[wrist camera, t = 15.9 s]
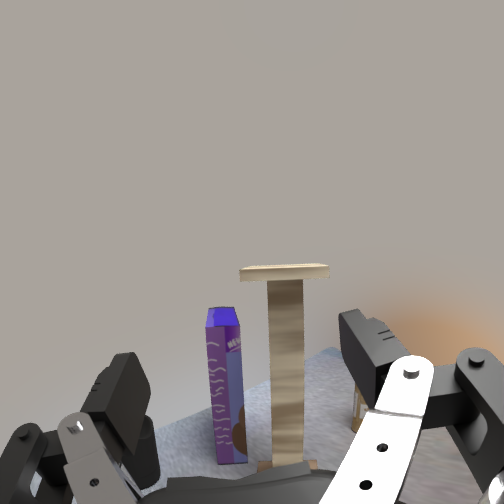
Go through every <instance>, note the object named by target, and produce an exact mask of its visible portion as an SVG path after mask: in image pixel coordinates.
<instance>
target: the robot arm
mask: <svg viewBox="0 0 504 504" xmlns="http://www.w3.org/2000/svg"><path fill="white" fill-rule="evenodd" d="M339 331H340V344H341V352H342V356H343V359H344V362H345V364H346V366H347V368H348V370H349V371H350V373H351V375H352V377H353V379H354V381H355V383H356V385H357V387H358V389H359V391H360V393H361V395H362V397H363V399H364V400H365V402H366V404H367V406H368V408H369V411H368V412H367V414H366V416H365V418H364V421H363V423H362V425H361V427H360V429H359V431H358V433H357V435H356V438H355V440H354V442H353V444H352V446H351V448H350V450H349V451H348V453H347V455H346V457H345V459H344V461H343V463H342V465H341V467H340V469H339V470H338V472H335V471H329V470H320V469H310V466H309V462H308V460H307V461H303V462H298V463H293V464H288V465H283V466H278V467H272V468H270V469H267V470H264V471H262V472H259V473H256V474H253V475H250V476H247V477H244V478H241V479H238V480H227V479H218V478H210V477H202V476H197V477H176V478H168V480H167V487H166V488H162V489H159V490H156V491H154V492H151V493H149V494H148V495H146V496H144V495H143V494H142V492H141V491H140V489H139V488H138V486H137V485H136V483H135V482H134V480H133V479H132V477H131V476H130V474H129V473H128V471H127V469H126V468H125V466H124V465H123V463H122V462H121V459H122V456H134V454H135V450H136V447H137V443H138V439H139V435H140V432H141V428H142V424H143V421H144V417H145V413H146V409H147V406H148V403H149V399H150V395H151V391H150V385H149V382H148V380H147V378H146V375H145V373H144V371H143V369H142V367H141V364H140V362H139V360H138V358H137V356H136V354H135V353H134V352H129V353H122V354H116V355H115V356H114V358H113V360H112V362H111V364H110V366H109V367H106V368H105V369H104V370H103V371H102V372H101V373H100V374H99V375H98V377H97V379H96V381H95V383H94V385H93V387H92V389H91V392H89V395H88V397H87V398H86V400H85V402H84V404H83V406H82V408H81V410H80V412H77V413H73V414H70V415H68V416H67V417H65V418H64V419H63V420H62V421H61V422H60V423H59V426H58V429H57V430H54V431H49V432H45V433H43V432H42V430H41V429H40V428H39V426H38V425H37V424H34V423H27V424H24V425H22V426H20V427H19V428H17V430H15V431H14V433H13V435H12V436H11V438H10V440H9V442H8V444H7V446H6V447H5V449H4V451H3V453H2V455H1V457H0V504H71V503H72V499H73V496H74V497H75V499H76V501H77V504H406V503H403V502H401V501H399V498H400V495H401V493H402V490H403V487H404V485H405V482H406V479H407V476H408V473H409V470H410V467H411V464H412V461H413V458H414V455H415V451H416V448H417V445H418V441H419V438H420V434H421V431H422V430H423V429H431V428H438V427H444V426H445V427H446V429H447V430H448V432H449V434H450V435H451V437H452V439H453V441H454V442H455V444H456V446H457V447H458V449H459V451H460V453H461V454H462V456H463V458H464V460H465V462H466V463H467V465H468V467H469V469H470V471H471V472H472V474H473V476H474V478H475V480H476V482H477V483H478V485H479V487H480V489H481V491H482V493H483V495H482V497H481V498H480V500H479V502H478V504H504V365H503V364H502V363H501V362H500V361H499V360H498V359H497V358H496V357H495V356H494V355H493V354H492V353H491V352H489V351H488V350H486V349H482V348H468V349H465V350H463V351H462V352H461V353H460V354H459V355H458V356H457V360H456V364H450V365H443V366H432V364H431V363H430V362H429V361H428V360H427V359H425V358H422V357H418V356H412V355H411V354H410V353H409V352H408V351H407V349H406V348H405V347H404V346H403V345H402V344H401V342H400V341H399V340H398V339H397V338H396V337H395V335H394V334H393V333H392V332H391V331H390V329H389V328H388V327H387V326H386V325H385V323H384V322H382V321H380V320H378V319H375V318H370V319H366V318H365V317H364V315H363V314H362V313H361V312H360V310H359V309H354V310H351V311H347V312H343V313H340V314H339ZM35 471H36V472H37V473H38V474H39V475H40V476H41V477H42V480H41V483H40V485H39V488H38V491H37V494H36V496H35V497H34V496H33V495H32V493H31V490H30V484H31V481H32V478H33V476H34V473H35Z"/></svg>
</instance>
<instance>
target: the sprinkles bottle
mask: <svg viewBox="0 0 504 504" xmlns="http://www.w3.org/2000/svg"><path fill="white" fill-rule="evenodd" d="M368 411H369V408H368V406H367V404H366V402H365V400H364V399H363V397H362V395H361V393H360V391H359V389H358V387H357V385H356V383H355V391H354V405H353V423H352V430H353V431H354V432H356V433H358V431H359V429H360V427H361V425H362V423H363V421H364V418H365V416H366V414H367V412H368Z"/></svg>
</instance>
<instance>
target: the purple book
mask: <svg viewBox="0 0 504 504" xmlns="http://www.w3.org/2000/svg"><path fill="white" fill-rule="evenodd" d="M205 328H206V343H207V356H208V369H209V380H210V392H211V403H212V413H213V423H214V433H215V442H216V451H217V459H218V465H225V464H242V463H248V459H247V444H246V428H245V411H244V394H243V377H242V358H241V338H240V324H239V321H238V318H237V315H236V312H235V309H234V307H215V308H209V310H208V316H207V321H206V327H205Z"/></svg>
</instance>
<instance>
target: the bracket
mask: <svg viewBox="0 0 504 504" xmlns="http://www.w3.org/2000/svg"><path fill="white" fill-rule="evenodd" d="M239 271H240V281H241V282H242V281H267V291H268V319H269V346H270V381H271V418H272V461H259V463H258V470H257V473H259V472H262V471H264V470H267V469H270V468H272V467H278V466H283V465H288V464H293V463H298V462H303V461H307V460H303V435H304V309H303V308H304V307H303V279H317V278H329V277H330V275H329V266H327V265H323V264H319V263H315V264H295V265H294V264H293V265H269V266H249V267H246V268H243V269H240V270H239ZM308 462H309V466H310V469H318V468H317V460H308Z"/></svg>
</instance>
